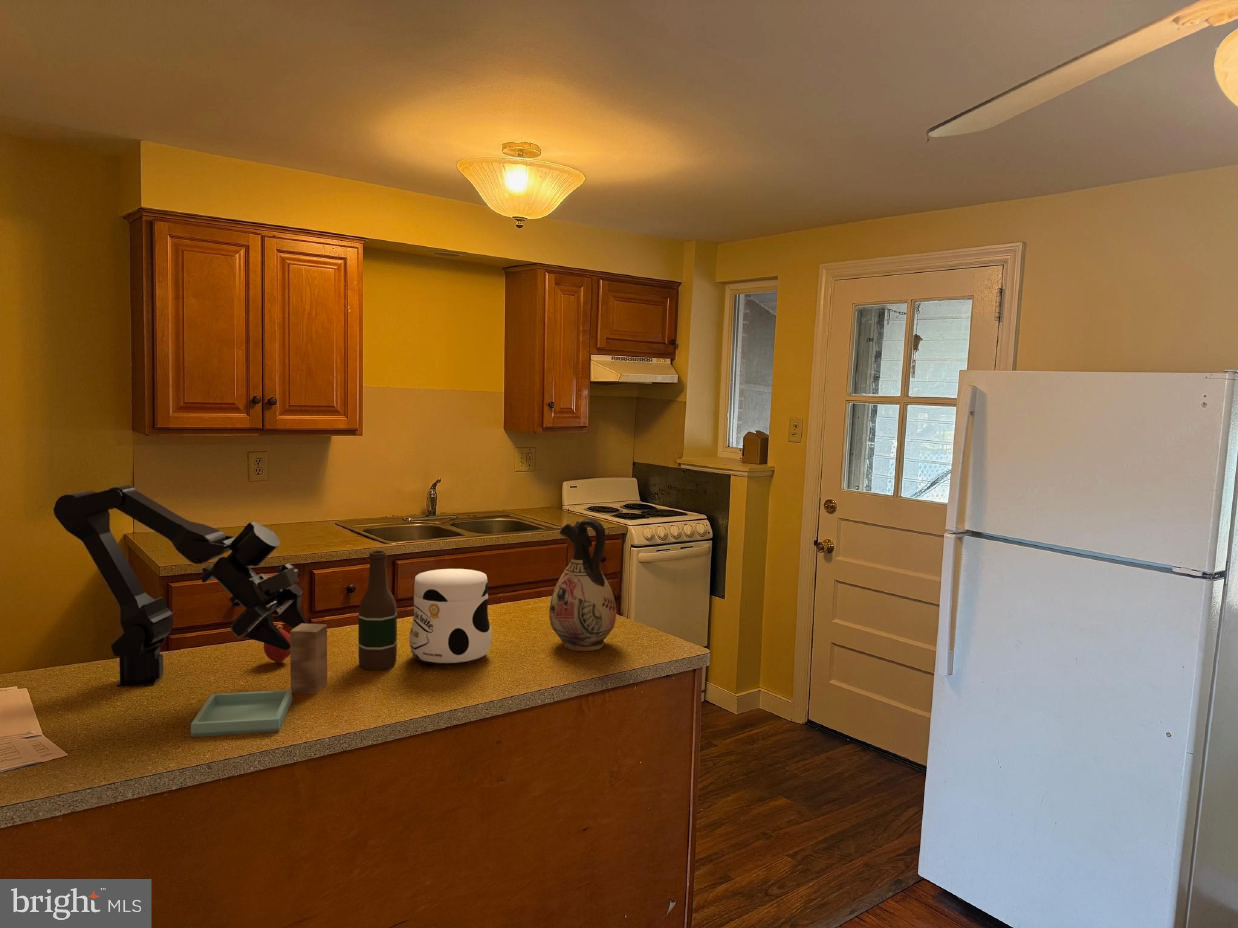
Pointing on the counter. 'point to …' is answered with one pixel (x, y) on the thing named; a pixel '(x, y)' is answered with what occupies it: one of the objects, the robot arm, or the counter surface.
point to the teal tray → (242, 713)
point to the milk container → (450, 617)
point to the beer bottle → (377, 619)
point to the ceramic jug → (583, 593)
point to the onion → (277, 649)
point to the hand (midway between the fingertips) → (299, 640)
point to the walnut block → (308, 658)
